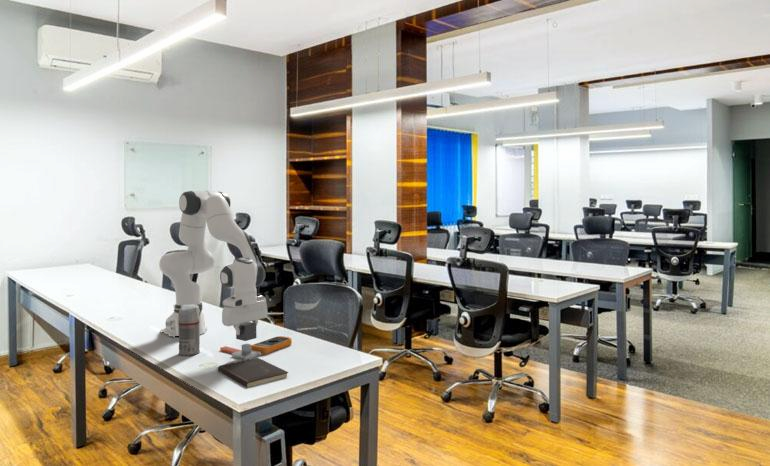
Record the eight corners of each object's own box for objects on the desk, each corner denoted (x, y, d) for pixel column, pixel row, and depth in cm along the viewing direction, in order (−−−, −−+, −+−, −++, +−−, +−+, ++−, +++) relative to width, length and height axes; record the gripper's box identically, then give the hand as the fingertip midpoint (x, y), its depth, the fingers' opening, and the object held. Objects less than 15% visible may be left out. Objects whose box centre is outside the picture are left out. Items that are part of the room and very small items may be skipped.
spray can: (205, 352, 215) (203, 304, 214) (188, 357, 208) (187, 307, 207) (191, 349, 219) (190, 302, 218) (174, 354, 212) (173, 305, 211)
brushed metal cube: (236, 338, 208) (235, 324, 208) (247, 336, 213) (247, 321, 213) (245, 341, 205) (245, 326, 205) (256, 338, 210) (256, 323, 209)
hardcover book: (257, 363, 202) (257, 357, 202) (288, 378, 185) (288, 372, 185) (217, 372, 191) (217, 366, 191) (246, 389, 174) (246, 382, 174)
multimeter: (293, 345, 227) (293, 337, 227) (265, 355, 211) (265, 347, 211) (278, 342, 231) (278, 334, 231) (249, 352, 215) (249, 344, 215)
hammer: (214, 352, 215) (214, 341, 215) (230, 347, 222) (230, 337, 221) (244, 360, 204) (244, 348, 204) (260, 355, 210) (260, 344, 210)
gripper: (260, 294, 218) (261, 326, 219) (219, 301, 202) (220, 337, 203) (270, 295, 215) (271, 328, 215) (229, 303, 198) (230, 339, 199)
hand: (246, 332), depth 209 cm, fingers closed on brushed metal cube, 6 cm apart
